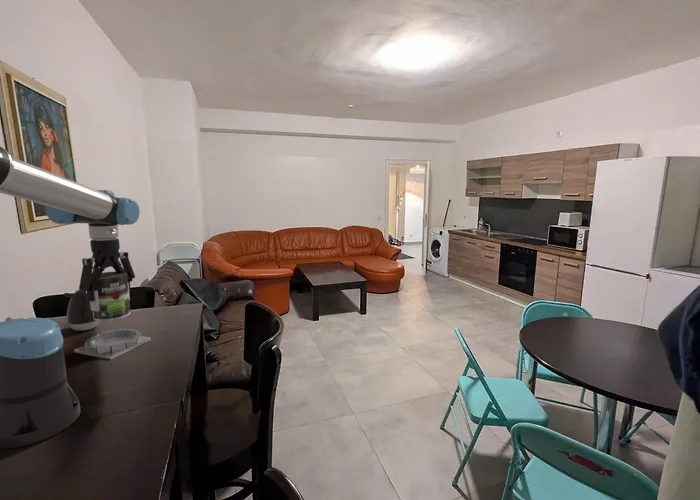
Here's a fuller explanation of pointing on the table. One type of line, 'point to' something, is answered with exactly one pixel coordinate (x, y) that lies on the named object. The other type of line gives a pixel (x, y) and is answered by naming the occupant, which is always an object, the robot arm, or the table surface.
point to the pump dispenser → (80, 312)
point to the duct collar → (112, 343)
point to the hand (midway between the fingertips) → (111, 305)
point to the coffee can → (112, 297)
